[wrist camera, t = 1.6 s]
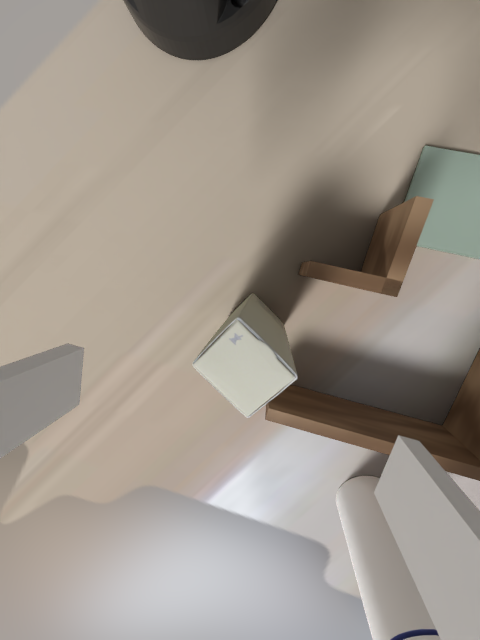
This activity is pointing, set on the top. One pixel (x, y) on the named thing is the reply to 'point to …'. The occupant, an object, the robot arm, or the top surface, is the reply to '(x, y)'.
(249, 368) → the box
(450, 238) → the pad
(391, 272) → the wooden u-shaped enclosure
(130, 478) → the top surface
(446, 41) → the top surface
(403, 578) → the cylindrical container
